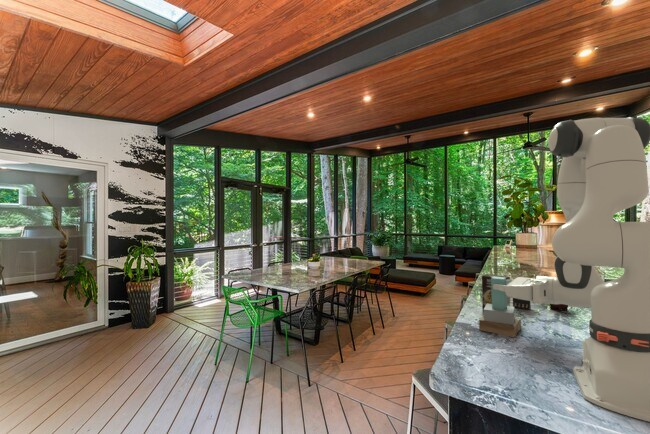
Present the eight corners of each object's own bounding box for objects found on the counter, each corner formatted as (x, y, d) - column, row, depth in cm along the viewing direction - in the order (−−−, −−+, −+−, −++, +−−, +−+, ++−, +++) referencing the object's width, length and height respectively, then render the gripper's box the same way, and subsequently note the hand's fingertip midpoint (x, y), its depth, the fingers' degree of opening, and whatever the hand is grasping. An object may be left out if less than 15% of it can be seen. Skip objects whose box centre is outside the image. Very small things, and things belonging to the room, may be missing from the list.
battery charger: (511, 307, 133) (510, 282, 133) (513, 305, 136) (512, 280, 136) (530, 310, 128) (529, 284, 128) (531, 308, 131) (530, 282, 131)
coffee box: (481, 313, 126) (480, 275, 126) (487, 310, 130) (486, 273, 130) (506, 318, 119) (504, 278, 119) (511, 314, 123) (510, 276, 123)
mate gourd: (570, 312, 124) (569, 276, 124) (547, 310, 128) (546, 275, 129) (567, 308, 131) (566, 273, 131) (545, 305, 135) (544, 272, 135)
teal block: (504, 310, 106) (503, 279, 106) (492, 308, 109) (491, 278, 109) (507, 307, 109) (506, 277, 109) (494, 305, 111) (493, 276, 112)
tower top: (513, 325, 102) (513, 313, 102) (483, 320, 107) (483, 309, 107) (514, 317, 110) (514, 306, 110) (487, 313, 115) (486, 303, 115)
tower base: (514, 338, 101) (514, 326, 101) (479, 330, 108) (479, 319, 108) (521, 329, 109) (520, 318, 109) (487, 322, 116) (487, 312, 116)
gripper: (546, 275, 108) (503, 271, 118) (538, 285, 93) (489, 279, 103) (547, 292, 108) (504, 287, 117) (538, 305, 93) (489, 298, 102)
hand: (497, 284), depth 110 cm, fingers open, 8 cm apart
